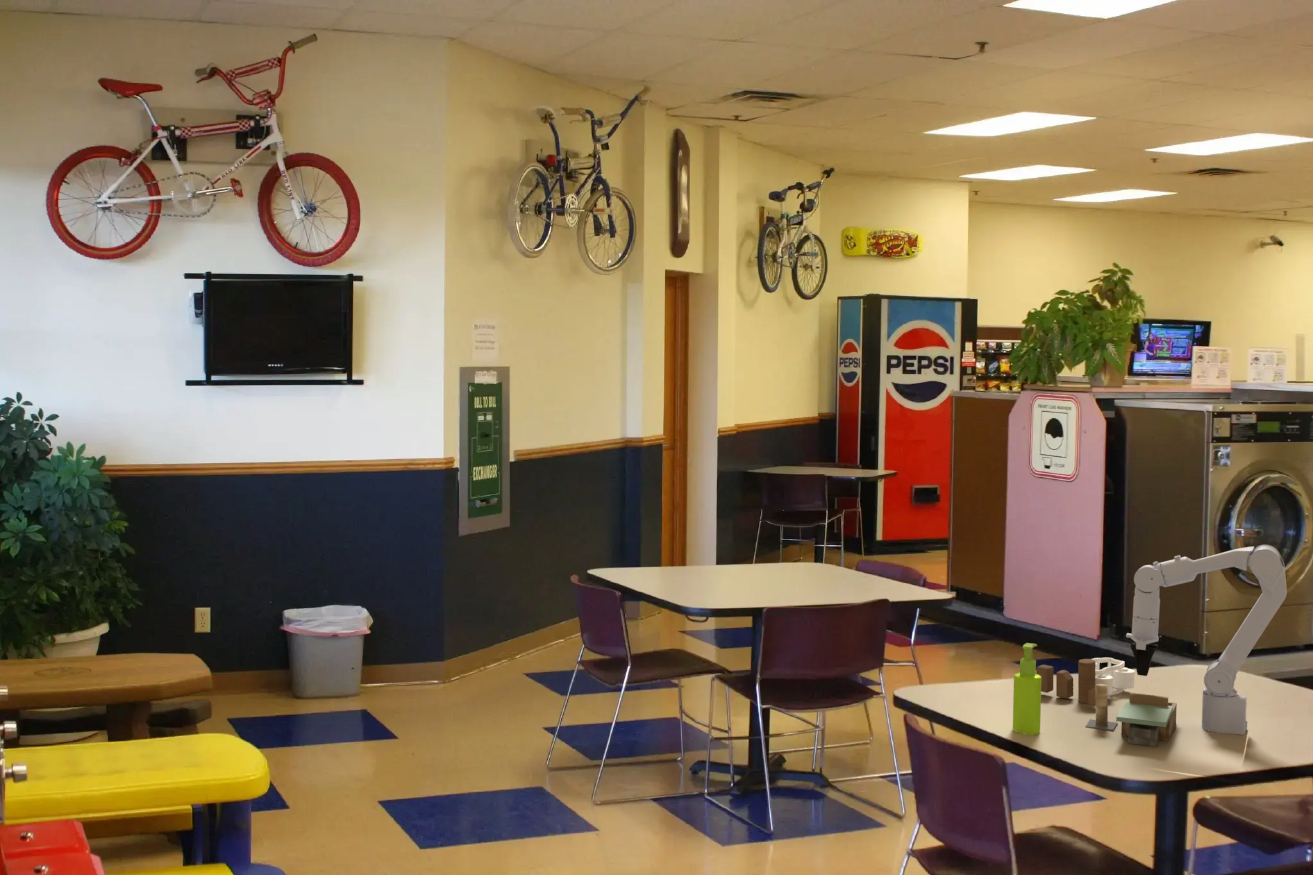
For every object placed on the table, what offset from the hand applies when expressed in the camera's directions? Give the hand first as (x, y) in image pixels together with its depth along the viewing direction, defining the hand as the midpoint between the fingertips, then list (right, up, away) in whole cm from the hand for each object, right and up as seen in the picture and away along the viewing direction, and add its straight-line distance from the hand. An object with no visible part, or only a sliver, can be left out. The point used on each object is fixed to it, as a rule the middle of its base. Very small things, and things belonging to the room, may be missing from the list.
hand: (1142, 675), depth 307 cm
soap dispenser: (-31, -11, -13) cm, 35 cm away
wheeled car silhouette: (-1, -10, +26) cm, 28 cm away
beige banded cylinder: (-12, -10, -6) cm, 17 cm away
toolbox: (-3, -11, -11) cm, 16 cm away
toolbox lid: (-6, -6, -17) cm, 19 cm away
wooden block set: (-11, -10, +16) cm, 22 cm away
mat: (-12, -11, -6) cm, 17 cm away
